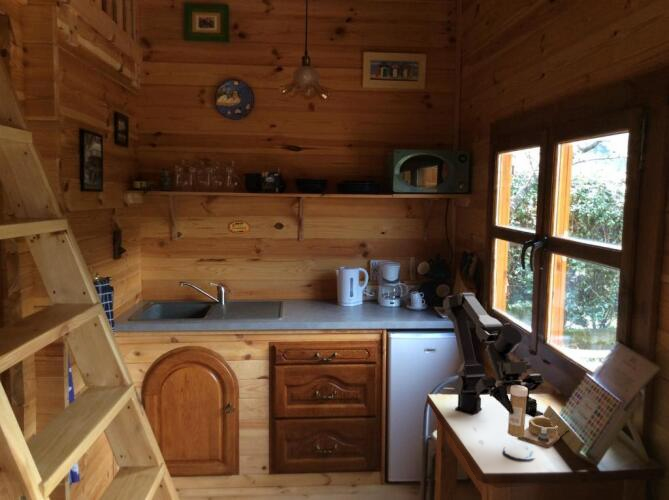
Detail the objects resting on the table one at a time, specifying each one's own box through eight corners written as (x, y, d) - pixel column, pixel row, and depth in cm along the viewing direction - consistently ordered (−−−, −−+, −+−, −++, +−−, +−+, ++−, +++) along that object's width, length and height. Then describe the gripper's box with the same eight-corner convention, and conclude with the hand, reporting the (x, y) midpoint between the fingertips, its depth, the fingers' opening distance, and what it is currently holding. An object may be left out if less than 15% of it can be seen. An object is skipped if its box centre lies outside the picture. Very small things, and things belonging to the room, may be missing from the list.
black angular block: (551, 417, 179) (551, 403, 178) (534, 421, 176) (535, 407, 175) (522, 403, 190) (523, 390, 190) (506, 407, 187) (506, 394, 186)
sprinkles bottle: (527, 435, 153) (531, 388, 152) (517, 439, 151) (520, 391, 149) (514, 429, 157) (517, 383, 156) (503, 432, 155) (506, 385, 153)
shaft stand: (517, 438, 162) (518, 426, 162) (540, 421, 174) (540, 410, 174) (548, 447, 156) (548, 435, 156) (569, 429, 168) (570, 418, 168)
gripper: (481, 349, 153) (500, 403, 144) (542, 346, 157) (564, 398, 148) (467, 368, 162) (484, 420, 152) (525, 364, 166) (545, 414, 156)
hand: (520, 413), depth 152 cm, fingers closed on sprinkles bottle, 4 cm apart
